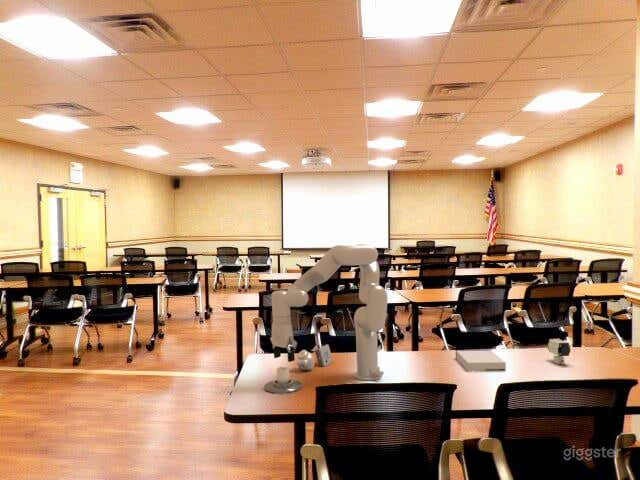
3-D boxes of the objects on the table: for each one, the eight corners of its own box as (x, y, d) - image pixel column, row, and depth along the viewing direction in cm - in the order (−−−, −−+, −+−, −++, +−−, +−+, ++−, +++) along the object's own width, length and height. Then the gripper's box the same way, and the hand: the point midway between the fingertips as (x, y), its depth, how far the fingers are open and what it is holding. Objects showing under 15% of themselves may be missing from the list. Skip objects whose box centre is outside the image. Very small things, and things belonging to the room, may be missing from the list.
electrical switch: (324, 367, 231) (322, 348, 232) (315, 367, 234) (313, 348, 234) (333, 362, 240) (331, 344, 240) (324, 362, 242) (322, 344, 242)
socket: (309, 387, 202) (309, 381, 202) (279, 396, 192) (279, 390, 192) (286, 379, 214) (286, 373, 214) (256, 387, 203) (256, 381, 203)
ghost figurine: (293, 369, 229) (292, 348, 229) (311, 366, 233) (310, 346, 233) (300, 374, 221) (299, 353, 221) (318, 371, 225) (317, 350, 225)
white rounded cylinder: (282, 387, 199) (281, 370, 199) (275, 385, 203) (274, 367, 203) (291, 384, 203) (291, 367, 203) (284, 382, 207) (283, 365, 206)
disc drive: (490, 359, 240) (490, 349, 240) (506, 372, 218) (506, 361, 218) (455, 359, 241) (455, 349, 241) (467, 372, 219) (467, 362, 219)
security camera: (556, 359, 235) (555, 335, 234) (571, 366, 223) (570, 341, 223) (545, 360, 234) (545, 336, 234) (560, 367, 222) (559, 341, 222)
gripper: (262, 319, 206) (265, 358, 207) (287, 323, 193) (290, 364, 194) (276, 316, 211) (279, 354, 212) (301, 320, 199) (304, 360, 199)
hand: (284, 359), depth 203 cm, fingers open, 9 cm apart
